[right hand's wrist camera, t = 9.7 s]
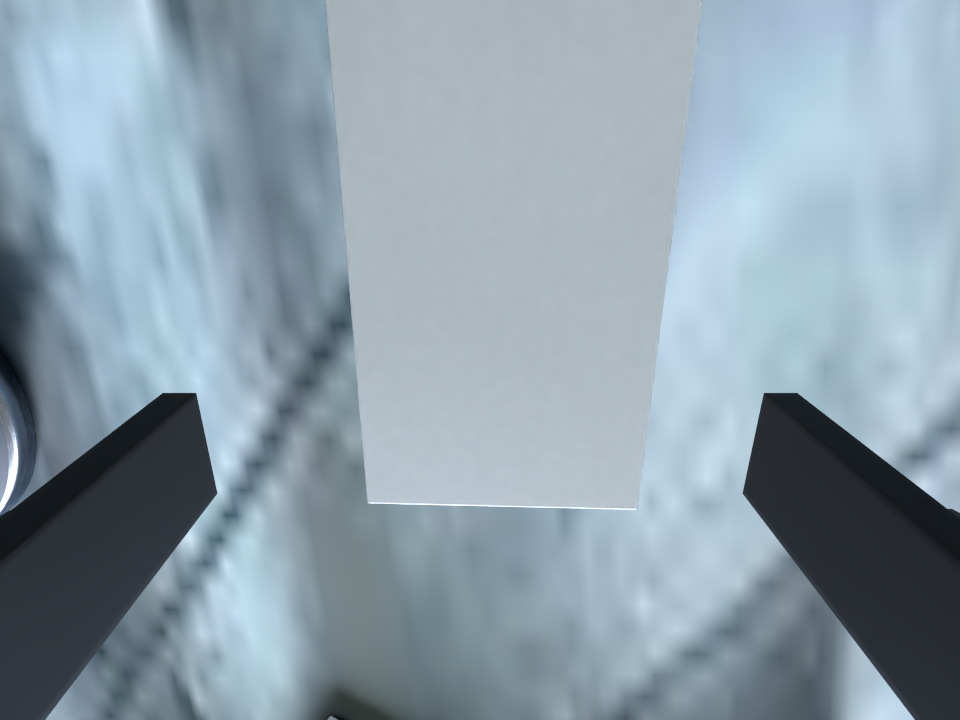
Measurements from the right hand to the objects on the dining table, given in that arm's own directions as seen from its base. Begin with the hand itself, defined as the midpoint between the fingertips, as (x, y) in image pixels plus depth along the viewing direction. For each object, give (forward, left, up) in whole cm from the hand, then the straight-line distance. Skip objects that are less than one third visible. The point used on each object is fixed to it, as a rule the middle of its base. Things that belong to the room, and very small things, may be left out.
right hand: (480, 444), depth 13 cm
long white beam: (-9, +31, -12) cm, 34 cm away
